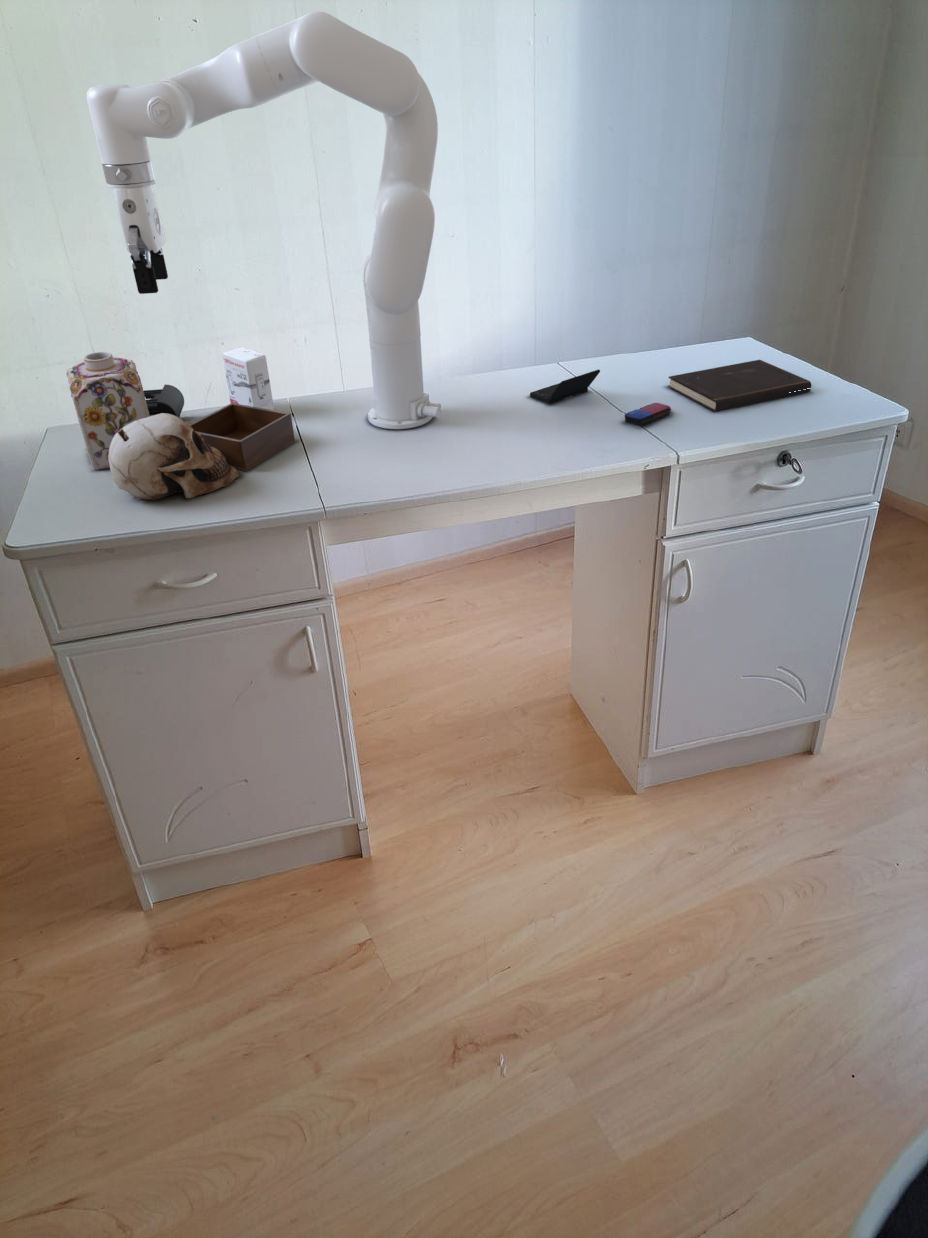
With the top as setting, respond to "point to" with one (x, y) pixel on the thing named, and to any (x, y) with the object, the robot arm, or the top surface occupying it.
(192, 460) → the coin bank
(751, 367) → the hardcover book
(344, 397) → the top surface
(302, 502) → the top surface
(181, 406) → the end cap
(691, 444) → the top surface
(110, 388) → the decorative jar
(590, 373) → the handheld gaming console
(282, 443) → the desk box
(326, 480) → the top surface
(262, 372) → the ink box
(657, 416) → the eraser
